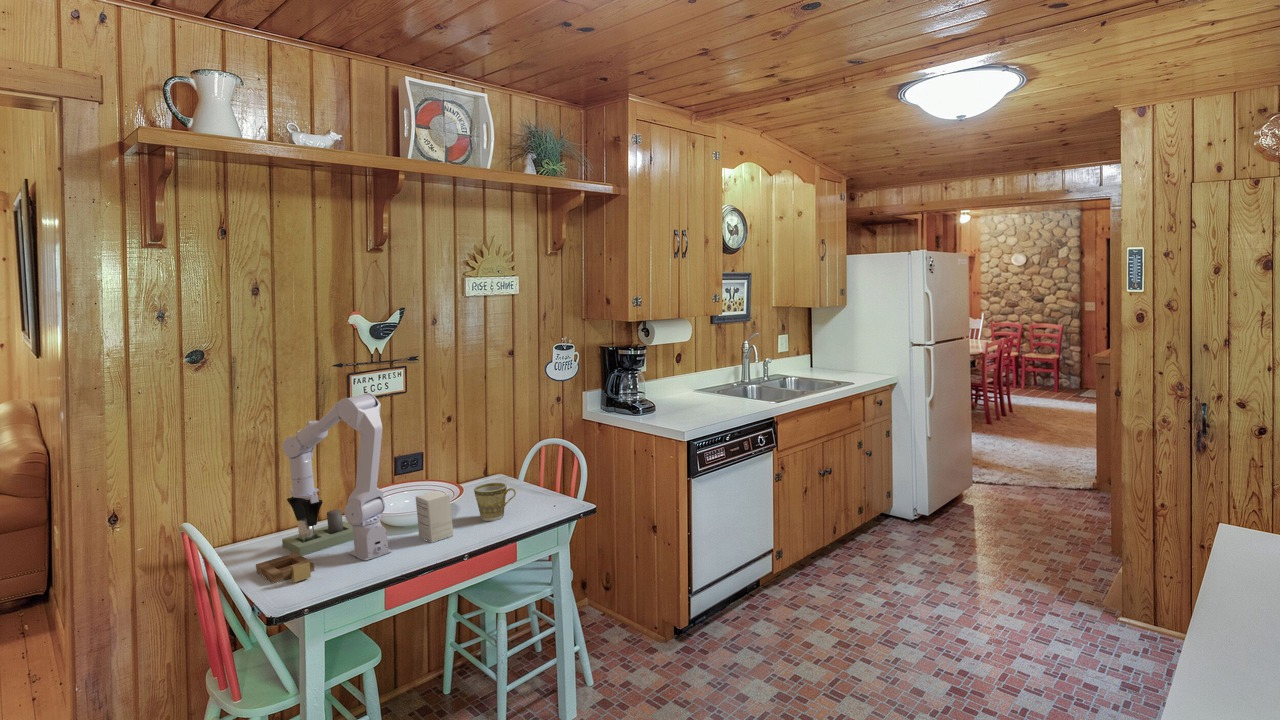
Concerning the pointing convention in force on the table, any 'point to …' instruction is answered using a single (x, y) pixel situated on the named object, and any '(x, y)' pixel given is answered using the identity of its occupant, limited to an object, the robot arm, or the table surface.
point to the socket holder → (281, 567)
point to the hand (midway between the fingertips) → (306, 523)
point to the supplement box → (434, 516)
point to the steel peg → (305, 531)
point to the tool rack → (322, 536)
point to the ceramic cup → (492, 500)
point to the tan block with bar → (300, 571)
